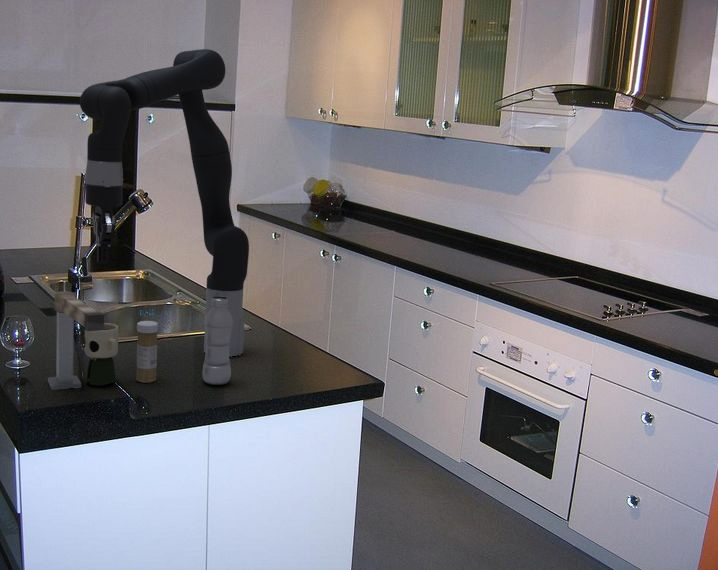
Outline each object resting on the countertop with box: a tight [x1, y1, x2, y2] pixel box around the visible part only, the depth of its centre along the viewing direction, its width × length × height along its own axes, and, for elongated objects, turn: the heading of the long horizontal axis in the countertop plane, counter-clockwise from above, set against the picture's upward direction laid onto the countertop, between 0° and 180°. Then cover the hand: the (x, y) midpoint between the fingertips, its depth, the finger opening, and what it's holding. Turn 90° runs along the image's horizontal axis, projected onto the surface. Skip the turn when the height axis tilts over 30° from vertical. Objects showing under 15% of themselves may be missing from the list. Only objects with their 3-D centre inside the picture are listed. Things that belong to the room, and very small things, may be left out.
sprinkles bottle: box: [135, 320, 159, 384], centre depth 195 cm, size 5×5×14 cm
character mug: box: [83, 322, 119, 386], centre depth 190 cm, size 11×7×13 cm, turn 48°
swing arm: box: [53, 291, 105, 331], centre depth 178 cm, size 22×4×4 cm, turn 36°
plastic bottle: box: [202, 296, 233, 386], centre depth 195 cm, size 6×7×20 cm
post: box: [47, 311, 82, 391], centre depth 187 cm, size 6×6×16 cm
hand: (102, 263), depth 186 cm, fingers closed
